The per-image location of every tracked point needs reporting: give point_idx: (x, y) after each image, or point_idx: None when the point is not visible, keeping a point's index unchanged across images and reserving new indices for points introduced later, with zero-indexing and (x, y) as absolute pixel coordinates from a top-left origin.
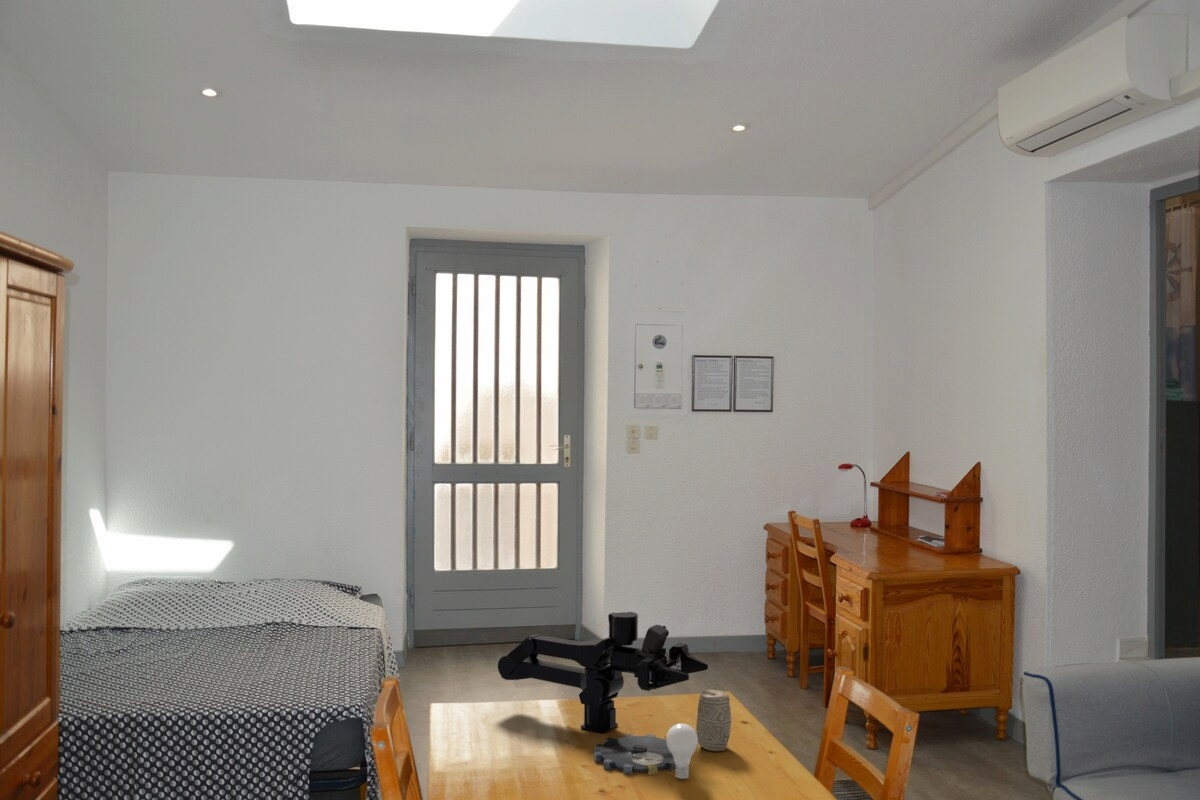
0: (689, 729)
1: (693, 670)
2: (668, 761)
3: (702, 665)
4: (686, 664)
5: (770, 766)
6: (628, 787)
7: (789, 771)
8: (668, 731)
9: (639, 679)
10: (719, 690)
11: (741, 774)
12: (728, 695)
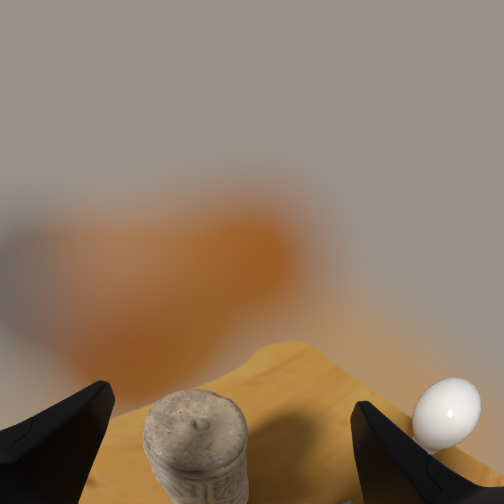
0: (453, 377)
1: (82, 473)
2: None
3: (97, 406)
4: (43, 495)
5: (254, 392)
6: (492, 480)
7: (259, 369)
8: (478, 414)
9: None
10: (151, 413)
11: (318, 412)
12: (180, 390)
